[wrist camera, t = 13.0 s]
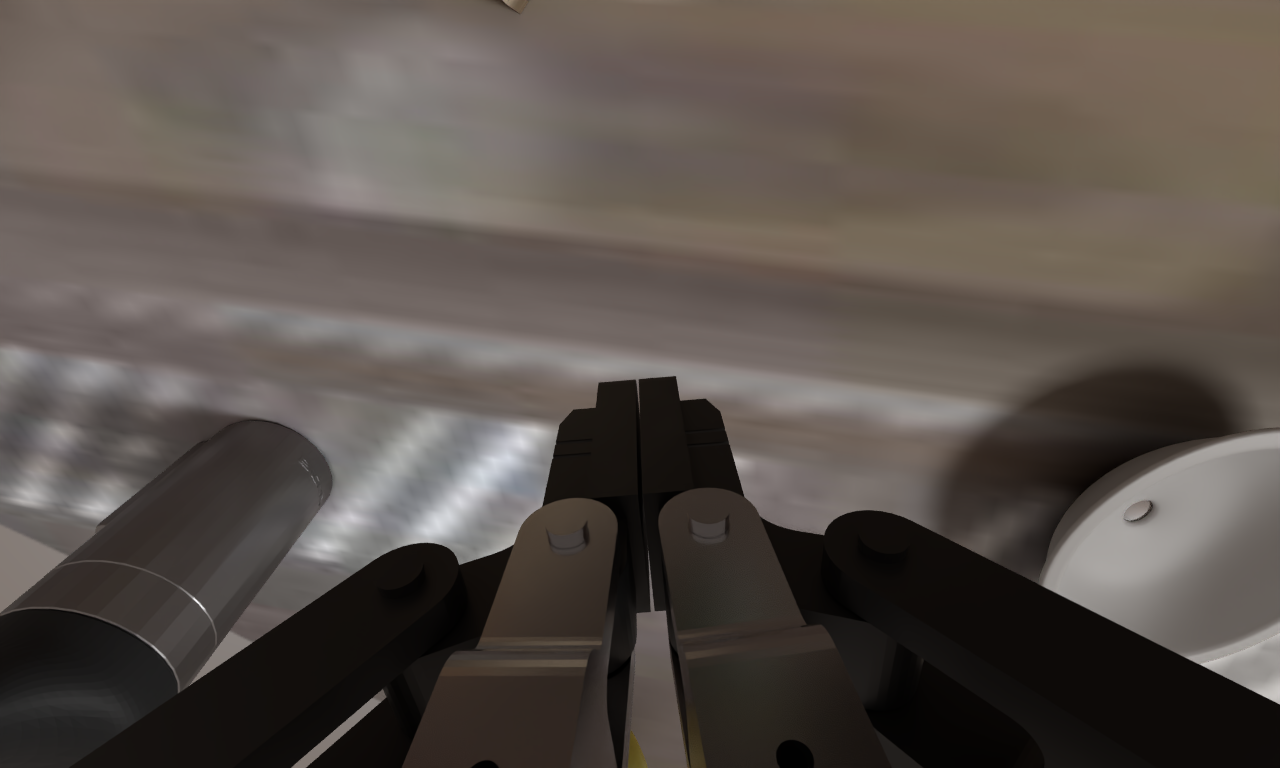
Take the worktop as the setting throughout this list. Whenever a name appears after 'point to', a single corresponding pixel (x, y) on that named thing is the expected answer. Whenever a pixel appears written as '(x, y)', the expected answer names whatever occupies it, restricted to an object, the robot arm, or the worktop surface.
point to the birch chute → (517, 4)
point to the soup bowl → (1180, 545)
